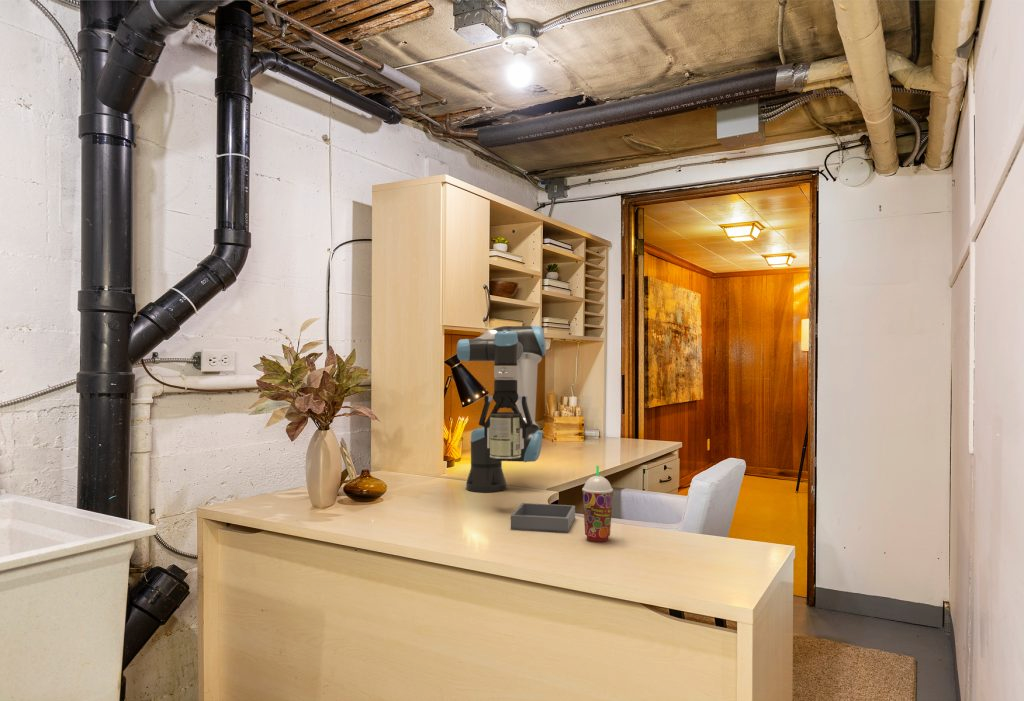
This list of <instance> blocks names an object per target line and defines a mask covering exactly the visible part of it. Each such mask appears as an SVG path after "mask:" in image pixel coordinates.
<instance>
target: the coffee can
mask: <svg viewBox="0 0 1024 701" xmlns="http://www.w3.org/2000/svg"><path fill="white" fill-rule="evenodd" d="M489 416H490V457H491V458H496V459H515V458H520V457H521V449H520V428H521V424H520V423H519V416H521V413H520V414H514V412H513V411H501V412H499V411H498V412H497V413H496V414H491V412H490V413H489Z"/></svg>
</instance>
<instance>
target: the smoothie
mask: <svg viewBox="0 0 1024 701" xmlns="http://www.w3.org/2000/svg"><path fill="white" fill-rule="evenodd" d="M599 467H600V466H599V465H596V466H595V468H596V470H595V471H596V472H595V474H596V475H593V476H591V477H589V478H588V479H587V480H586V481H585V483H584V485H583V487H582V489H581V491H582V503H583V505H582V506H583V519H584V520H583V522H584V535H585V536H586V539H587V541H590V542H593V541H596V542H595V543H604V542H607V541H608V540H609V537H610V536H611V526H612V509H613V491H614V488H613V487H612V485H611V483H610V481H609V480H608V479H607V478H605V477H604V476H602V475H599V474H600V472H599V471H600V468H599ZM601 541H602V542H601ZM603 541H604V542H603Z"/></svg>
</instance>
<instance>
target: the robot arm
mask: <svg viewBox="0 0 1024 701" xmlns="http://www.w3.org/2000/svg"><path fill="white" fill-rule="evenodd" d="M546 355H547V346H546V339H545V333H544V329H543V327H541V326H539V325H538V326H537V325H515V326H514V325H511V326H509V325H504V326H499V327H496V328H495V327H494V328H491V329H489V330H486V331H484V332H483V334H481V336H480V335H479V336H478V337H475V338H464V339H462V338H460V339H459V340H458V342H457V344H456V356H457V357H456V358H457V359H458V360H459V361H461V362H462V361H463V362H494V364H493V365H494V369H493V372H494V373H493V376H494V378H495V379H494V381H493V390H494V391H493V395H489V394H488V395H484V397H483V398H484V399H483V400H484V404H483V407H482V410H481V413H480V418H479V420H478V426H480V427H478V428H474V429H473V430H472V431H471V434H470V442H469V443H470V469H469V473H468V476H467V479H466V481H465V482H466V484H465V485H466V486H465V488H466V490H467V491H470V492H474V493H475V492H476V493H477V492H478V493H495V492H500V491H504V490H506V489H507V480H506V478H505V474H504V472H503V468H502V467H503V466H502V465H503V464H502V463H503V462H523V463H527V462H528V463H529V462H536V461H538V459H539V457H540V455H541V451H542V446H543V435H544V434H543V431H542V430H540V428H539V427H540V426H539V424H537V422H536V410H537V409H536V408H537V388H538V386H537V385H538V364H540V363H541V361H542V359H543V357H544V356H546ZM491 402H495V405H494V407H493V408H492V410H491V412H490V413H491V414H496V413H497V412H499V410H500V409H511V410H512V412H514V414H520V413H521V416H519V423H520V424H521V428H520V449H521V457H520V458H515V459H496V458H491V457H490V415H489V416H488V417H487V415H488V412H489V408H490V406H491V405H490V404H491Z"/></svg>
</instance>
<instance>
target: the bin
mask: <svg viewBox="0 0 1024 701" xmlns="http://www.w3.org/2000/svg"><path fill="white" fill-rule="evenodd" d="M574 519H575V520H576V505H570V504H569V505H567V504H549V503H548V504H546V503H531V502H528V503H527V502H522V503H521V504H520V505H519V506H518V507H517V508H516V509H515V510H514V511H513V512H512V513H511V515H510V530H513V531H531V532H545V533H546V532H548V533H564V534H568V533H569V532H570V529H571V527H572V526H573V524H574V522H575V520H574ZM573 521H574V522H573ZM572 523H573V524H572ZM571 525H572V526H571Z"/></svg>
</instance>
